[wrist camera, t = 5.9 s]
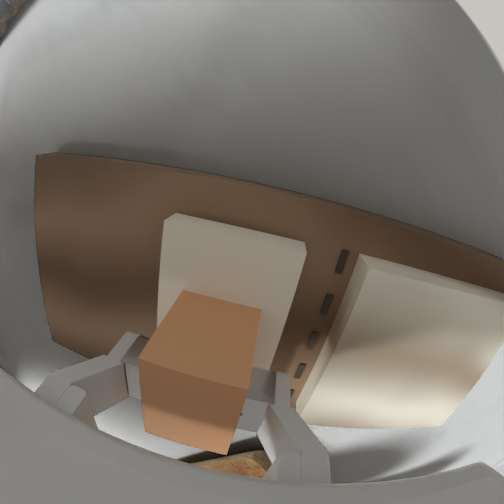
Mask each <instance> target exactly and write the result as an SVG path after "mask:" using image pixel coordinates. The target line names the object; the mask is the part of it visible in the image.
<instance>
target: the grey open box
mask: <svg viewBox="0 0 504 504" xmlns="http://www.w3.org/2000/svg"><path fill="white" fill-rule="evenodd" d="M25 1H26V0H0V39H1V37H2V36H3V34H4V32H5V31H6V29H7V27H8V26H9V24H10V23H11V21H12V20H13V18H14V16H15V15H16V13H17V12H18V11H19V9H20V8H21V6H22V5H23V3H24V2H25Z"/></svg>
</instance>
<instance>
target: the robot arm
mask: <svg viewBox="0 0 504 504" xmlns="http://www.w3.org/2000/svg"><path fill="white" fill-rule="evenodd" d="M149 340H150V338H148V337H145V336H142V335H139V334H136V333H134V332H131V331H127V332H126V333H125V334H124V335H123V336H122V338H121V339H120V340H119V341H118V343H117V344H116V345H115V346H114V348H113V349H112V350H111V352H110V353H109V354H108V355H107V356H106V355H101V356H98V357H95V358H93V359H90V360H87V361H84V362H81V363H78V364H75V365H72V366H68V367H65V368H62V369H59V370H56V371H53V372H52V373H51V374H50V375H49V376H48V377H47V378H46V380H45V381H44V382H43V383H42V384H41V385H40V387H39V388H38V389H37V390H36V391H35V392H33V391H31V390H30V389H28V388H27V387H26V386H24V385H23V384H21V383H20V382H19V381H17V380H16V379H14V378H13V377H12V376H11V375H9V374H8V373H7V372H5V371H4V370H3V369H2V368H0V504H504V477H503V476H502V475H501V474H499V473H498V472H496V470H494V469H493V468H491V467H490V466H489V465H487V464H485V463H483V462H478V463H474V464H470V465H467V466H464V467H460V468H456V469H452V470H448V471H444V472H439V473H435V474H430V475H425V476H419V477H413V478H406V479H399V480H391V481H381V482H369V483H346V484H331V471H330V455H329V452H328V451H327V450H326V449H325V447H324V446H323V445H322V444H321V442H320V441H319V440H318V438H317V437H316V436H315V435H314V433H313V432H312V431H311V429H310V428H309V427H308V426H307V424H306V423H305V422H304V420H303V419H302V418H301V416H300V415H299V414H298V412H297V411H296V410H295V408H292V407H290V374H289V373H284V372H278V371H276V372H275V371H272V370H267V369H262V368H257V367H252V372H251V378H250V384H249V390H248V393H247V396H246V399H245V402H244V405H243V408H242V411H241V414H240V417H239V420H238V423H237V426H236V428H239V429H243V430H248V431H252V432H257V435H258V437H259V439H260V441H261V443H262V445H263V447H264V449H265V451H266V453H267V455H268V457H269V459H270V461H271V463H272V465H271V466H270V468H269V469H268V471H267V472H266V474H265V475H264V476H263V478H255V477H248V476H242V475H237V474H232V473H227V472H222V471H217V470H213V469H209V468H205V467H201V466H197V465H193V464H189V463H186V462H183V461H179V460H176V459H173V458H169V457H166V456H163V455H160V454H157V453H155V452H152V451H149V450H146V449H144V448H141V447H138V446H136V445H133V444H131V443H128V442H126V441H123V440H121V439H119V438H116V437H114V436H112V435H110V434H108V433H105V432H103V431H101V430H99V429H98V427H97V425H96V422H95V419H94V417H93V416H95V415H97V414H99V413H101V412H102V411H104V410H106V409H108V408H110V407H111V406H113V405H115V404H117V403H119V402H120V401H122V400H124V399H126V398H127V397H128V396H130V397H133V398H136V399H139V400H141V392H140V382H139V369H138V357H139V355H140V354H141V352H142V351H143V349H144V348H145V346H146V344H147V343H148V341H149Z"/></svg>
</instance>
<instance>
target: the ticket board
mask: <svg viewBox="0 0 504 504" xmlns="http://www.w3.org/2000/svg"><path fill="white" fill-rule="evenodd" d="M34 206H35V232H36V246H37V256H38V265H39V273H40V280H41V287H42V293H43V298H44V304H45V309H46V314H47V318H48V323H49V327H50V331H51V335H52V339H53V341H54V342H56V343H58V344H60V345H62V346H64V347H66V348H68V349H70V350H72V351H74V352H76V353H78V354H80V355H82V356H85V357H87V358H89V359H93V358H95V357H98V356H101V355H106V356H107V355H108V354H109V353H110V352H111V350H112V349H113V348H114V346H115V345H116V344H117V343H118V341H119V340H120V339H121V338H122V336H123V335H124V334H125V333H126V332H127V331H131V332H134V333H136V334H139V335H142V336H145V337H148V338H151V337H152V335H153V334H154V332H155V331H156V329H157V308H158V287H159V271H160V258H161V246H162V236H163V226H164V220H166V219H167V218H169V217H170V216H172V215H174V214H175V213H179V214H184V215H188V216H193V217H198V218H202V219H207V220H211V221H216V222H220V223H225V224H229V225H234V226H238V227H242V228H247V229H251V230H255V231H260V232H264V233H268V234H273V235H277V236H281V237H285V238H290V239H294V240H298V241H302V242H305V247H306V252H307V255H306V258H305V261H304V265H303V268H302V271H301V275H300V278H299V281H298V285H297V288H296V291H295V294H294V297H293V301H292V304H291V307H290V310H289V313H288V316H287V319H286V322H285V325H284V328H283V331H282V334H281V337H280V340H279V343H278V346H277V349H276V352H275V355H274V358H273V360H272V363H271V366H270V369H269V370H272V371H275V372H276V371H278V372H284V373H289V374H290V407H292V408H295V410H296V411H297V412H298V414H299V415H300V416H301V418H302V419H303V420H304V422H305V423H306V424H309V425H319V426H330V427H345V428H372V429H392V428H418V427H432V426H441V425H442V424H443V423H444V422H445V420H446V419H447V418H448V417H449V416H450V415H451V414H452V412H453V411H454V410H455V409H456V408H457V407H458V405H459V404H460V403H461V402H462V401H463V399H464V398H465V397H466V396H467V394H468V393H469V392H470V390H471V389H472V388H473V386H474V385H475V384H476V382H477V381H478V380H479V378H480V377H481V375H482V374H483V373H484V371H485V370H486V368H487V367H488V365H489V364H490V362H491V361H492V359H493V358H494V356H495V355H496V353H497V351H498V350H499V348H500V347H501V345H502V343H503V342H504V260H503V259H501V258H498V257H496V256H493V255H491V254H488V253H486V252H484V251H481V250H479V249H476V248H473V247H471V246H468V245H466V244H463V243H460V242H458V241H455V240H452V239H450V238H447V237H444V236H441V235H438V234H436V233H433V232H430V231H427V230H424V229H421V228H418V227H415V226H412V225H409V224H406V223H403V222H400V221H397V220H394V219H390V218H387V217H384V216H381V215H377V214H374V213H371V212H367V211H364V210H361V209H357V208H354V207H350V206H347V205H343V204H339V203H336V202H332V201H328V200H325V199H321V198H317V197H313V196H309V195H305V194H301V193H297V192H293V191H289V190H285V189H281V188H276V187H272V186H268V185H263V184H259V183H254V182H249V181H245V180H240V179H235V178H230V177H225V176H220V175H215V174H210V173H204V172H199V171H193V170H188V169H182V168H176V167H170V166H163V165H157V164H150V163H143V162H136V161H129V160H121V159H113V158H105V157H96V156H86V155H76V154H64V153H48V154H41V155H36V164H35V190H34Z"/></svg>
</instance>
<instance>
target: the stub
mask: <svg viewBox="0 0 504 504" xmlns="http://www.w3.org/2000/svg"><path fill="white" fill-rule="evenodd" d="M306 255H307V252H306V247H305V242H302V241H298V240H294V239H290V238H285V237H281V236H277V235H273V234H268V233H264V232H260V231H255V230H251V229H247V228H242V227H238V226H234V225H229V224H225V223H220V222H216V221H211V220H207V219H202V218H198V217H193V216H188V215H184V214H179V213H175V214H174V215H172V216H170V217H169V218H167V219H166V220H164V226H163V236H162V246H161V258H160V271H159V287H158V308H157V329H156V331H155V332H154V334H153V335H152V337H151V338H150V340H149V341H148V343H147V344H146V346H145V348H144V349H143V351H142V352H141V354H140V355H139V357H138V369H139V382H140V392H141V401H142V410H143V418H144V425H145V432H148V433H150V434H153V435H156V436H159V437H162V438H165V439H168V440H171V441H174V442H178V443H181V444H184V445H188V446H191V447H195V448H199V449H203V450H207V451H211V452H215V453H219V454H224V455H227V452H228V449H229V447H230V444H231V441H232V438H233V435H234V432H235V429H236V426H237V423H238V420H239V417H240V414H241V411H242V408H243V405H244V402H245V399H246V396H247V393H248V390H249V384H250V378H251V372H252V367H257V368H262V369H267V370H269V369H270V366H271V363H272V360H273V358H274V355H275V352H276V349H277V346H278V343H279V340H280V337H281V334H282V331H283V328H284V325H285V322H286V319H287V316H288V313H289V310H290V307H291V304H292V301H293V297H294V294H295V291H296V288H297V285H298V281H299V278H300V275H301V271H302V268H303V265H304V261H305V258H306Z"/></svg>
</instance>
